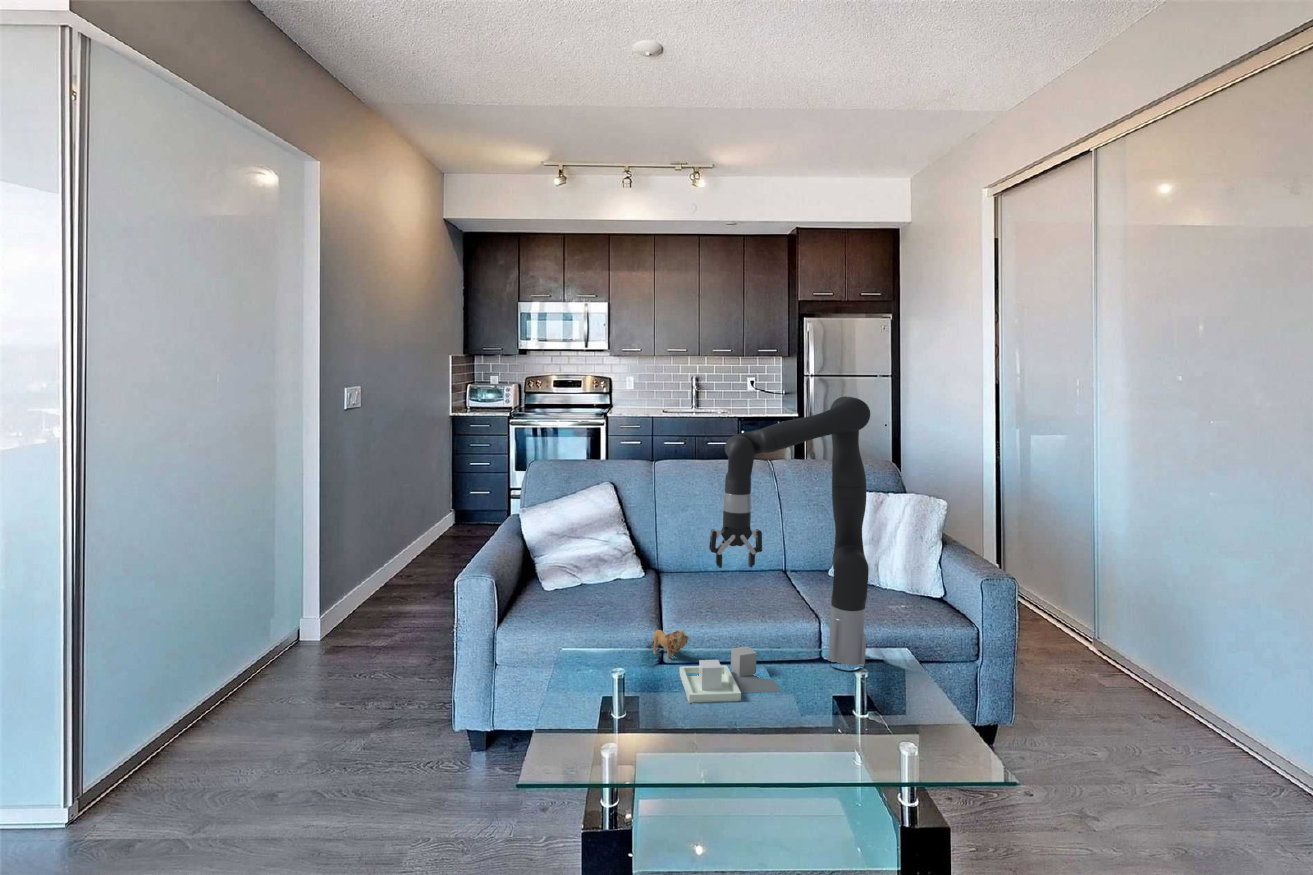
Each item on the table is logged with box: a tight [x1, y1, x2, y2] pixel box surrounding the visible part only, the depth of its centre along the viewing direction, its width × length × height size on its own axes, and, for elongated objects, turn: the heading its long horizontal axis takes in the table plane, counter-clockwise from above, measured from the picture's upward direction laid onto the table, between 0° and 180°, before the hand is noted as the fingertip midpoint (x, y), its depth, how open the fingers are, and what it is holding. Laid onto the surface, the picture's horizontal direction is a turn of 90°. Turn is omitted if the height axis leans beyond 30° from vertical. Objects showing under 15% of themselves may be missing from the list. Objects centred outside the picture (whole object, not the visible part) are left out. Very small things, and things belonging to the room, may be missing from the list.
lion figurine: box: [646, 629, 690, 660], centre depth 220 cm, size 15×5×9 cm, turn 48°
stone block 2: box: [730, 645, 758, 677], centre depth 209 cm, size 5×5×6 cm
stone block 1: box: [698, 659, 722, 691], centre depth 200 cm, size 5×5×6 cm
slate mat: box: [731, 672, 782, 694], centre depth 206 cm, size 11×16×1 cm
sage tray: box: [679, 664, 742, 705], centre depth 200 cm, size 13×17×2 cm
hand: (735, 567), depth 212 cm, fingers open, 8 cm apart
